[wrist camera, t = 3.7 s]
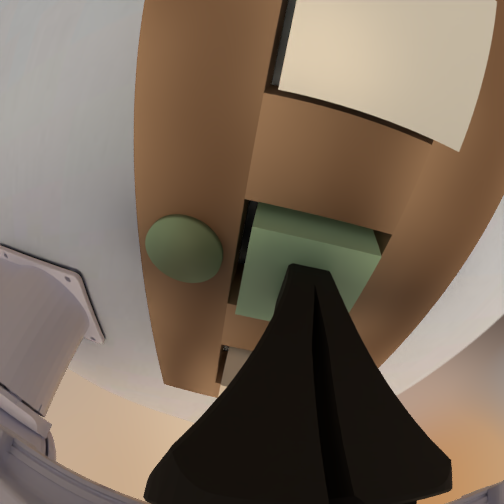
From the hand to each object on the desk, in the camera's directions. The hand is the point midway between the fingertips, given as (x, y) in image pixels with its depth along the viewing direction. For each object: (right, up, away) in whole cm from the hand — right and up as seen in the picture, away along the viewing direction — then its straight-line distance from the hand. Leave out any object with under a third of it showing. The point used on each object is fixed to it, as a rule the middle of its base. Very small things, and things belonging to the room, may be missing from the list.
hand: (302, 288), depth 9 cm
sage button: (0, +2, +2) cm, 3 cm away
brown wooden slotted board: (0, +2, +2) cm, 3 cm away
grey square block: (+1, +7, -4) cm, 8 cm away
